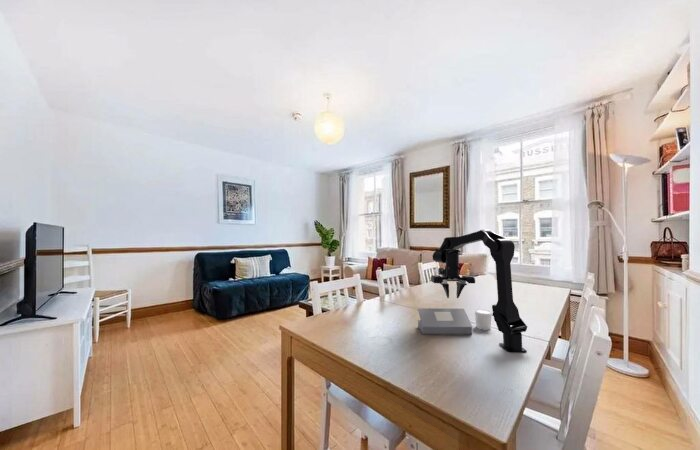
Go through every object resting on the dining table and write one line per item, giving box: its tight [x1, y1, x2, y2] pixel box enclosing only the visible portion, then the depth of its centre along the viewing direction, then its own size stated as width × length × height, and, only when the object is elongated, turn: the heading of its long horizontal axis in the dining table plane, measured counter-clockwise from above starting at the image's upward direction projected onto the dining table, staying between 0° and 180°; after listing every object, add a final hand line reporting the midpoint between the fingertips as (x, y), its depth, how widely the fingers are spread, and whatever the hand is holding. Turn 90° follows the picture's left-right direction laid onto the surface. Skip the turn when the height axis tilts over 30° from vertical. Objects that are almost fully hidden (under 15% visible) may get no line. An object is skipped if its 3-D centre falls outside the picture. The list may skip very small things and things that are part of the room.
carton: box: [417, 319, 473, 336], centre depth 115 cm, size 9×20×3 cm, turn 89°
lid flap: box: [417, 307, 473, 329], centre depth 115 cm, size 10×20×1 cm, turn 89°
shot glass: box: [474, 309, 493, 331], centre depth 119 cm, size 7×7×7 cm
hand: (452, 298), depth 124 cm, fingers open, 4 cm apart
